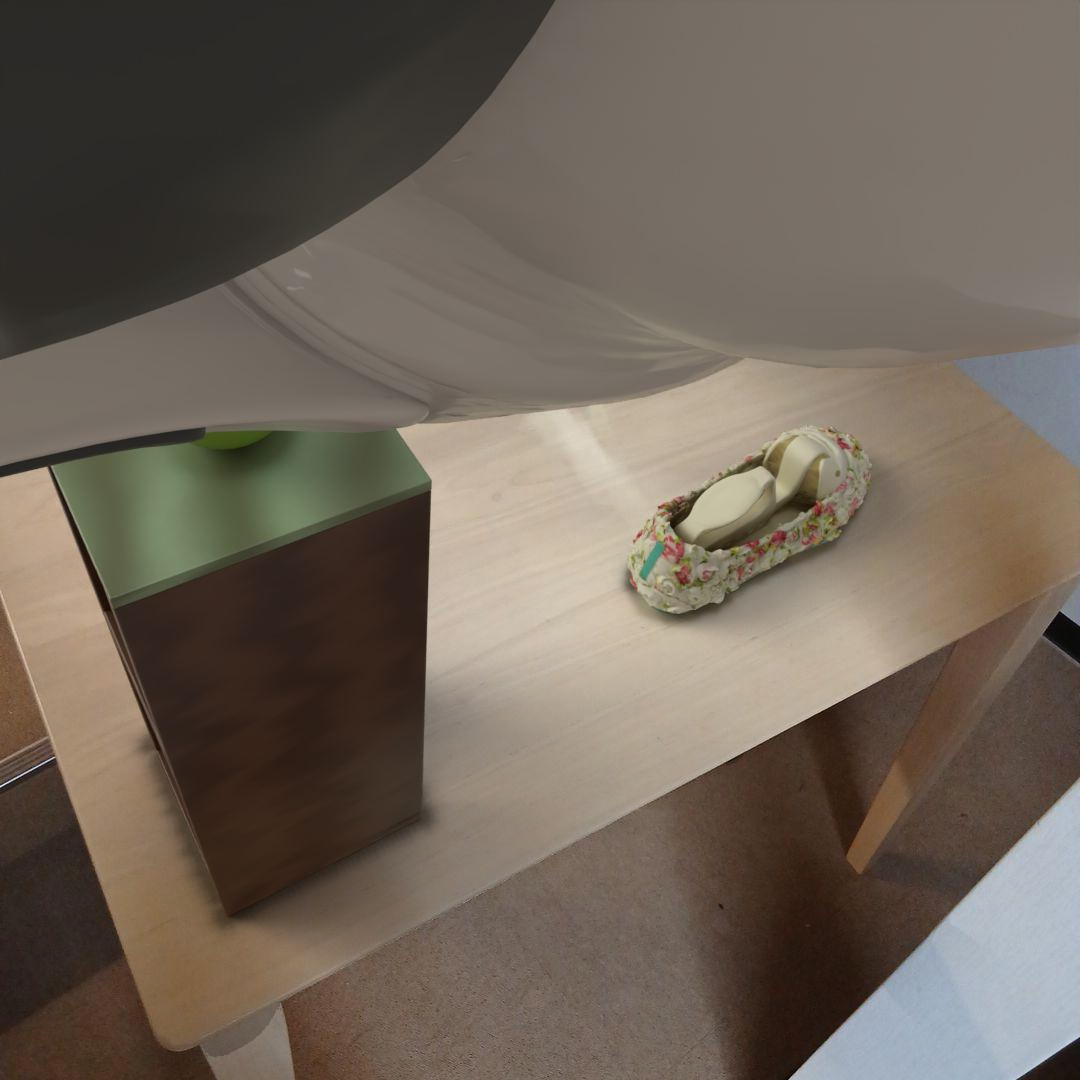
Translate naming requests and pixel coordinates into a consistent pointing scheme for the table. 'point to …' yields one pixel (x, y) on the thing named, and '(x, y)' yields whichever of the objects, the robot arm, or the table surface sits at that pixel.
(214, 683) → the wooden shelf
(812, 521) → the ballet flat
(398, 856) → the table surface
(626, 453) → the table surface
